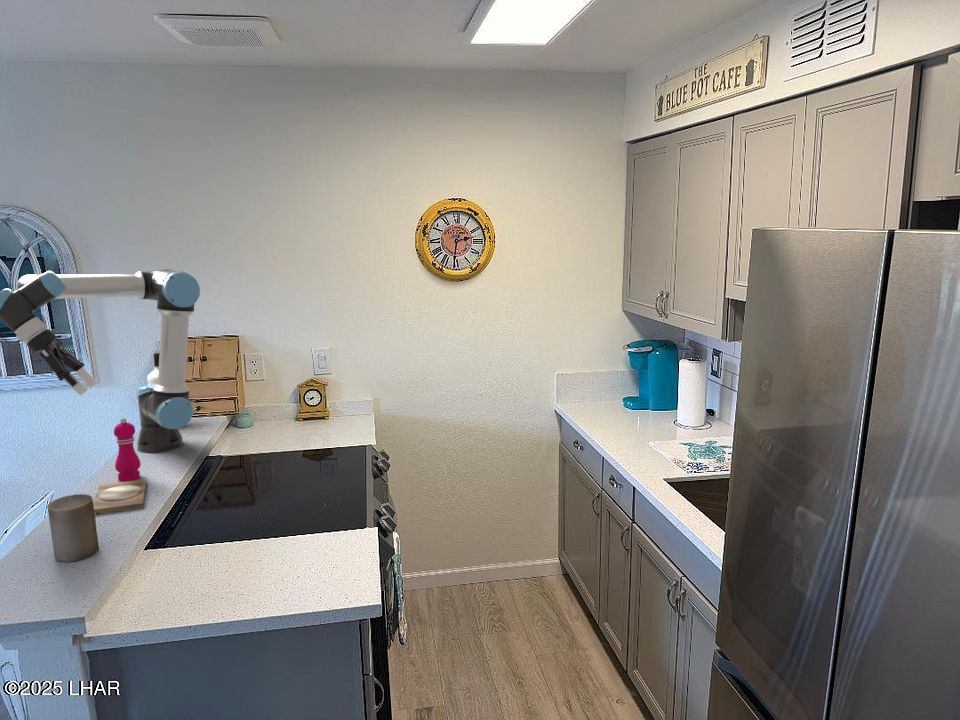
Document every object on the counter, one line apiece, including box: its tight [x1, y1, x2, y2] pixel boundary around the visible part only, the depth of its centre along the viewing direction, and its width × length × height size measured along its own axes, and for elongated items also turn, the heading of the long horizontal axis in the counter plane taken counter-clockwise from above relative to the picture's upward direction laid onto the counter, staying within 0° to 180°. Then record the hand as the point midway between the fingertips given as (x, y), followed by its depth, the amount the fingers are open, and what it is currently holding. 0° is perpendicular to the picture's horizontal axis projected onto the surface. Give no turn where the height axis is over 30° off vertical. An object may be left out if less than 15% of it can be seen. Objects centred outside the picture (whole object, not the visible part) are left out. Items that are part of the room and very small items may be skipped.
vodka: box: [146, 352, 160, 385], centre depth 270 cm, size 9×9×30 cm
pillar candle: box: [46, 493, 100, 563], centre depth 168 cm, size 10×10×15 cm
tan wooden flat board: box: [93, 478, 148, 514], centre depth 203 cm, size 20×13×2 cm, turn 23°
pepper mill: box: [113, 417, 141, 482], centre depth 217 cm, size 7×7×20 cm
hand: (89, 389), depth 210 cm, fingers open, 13 cm apart
